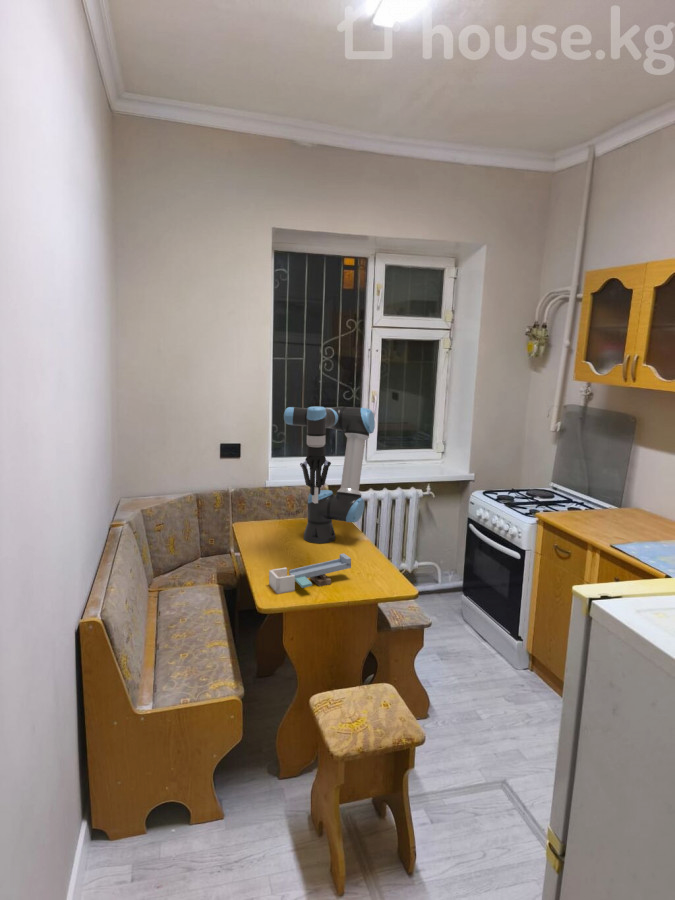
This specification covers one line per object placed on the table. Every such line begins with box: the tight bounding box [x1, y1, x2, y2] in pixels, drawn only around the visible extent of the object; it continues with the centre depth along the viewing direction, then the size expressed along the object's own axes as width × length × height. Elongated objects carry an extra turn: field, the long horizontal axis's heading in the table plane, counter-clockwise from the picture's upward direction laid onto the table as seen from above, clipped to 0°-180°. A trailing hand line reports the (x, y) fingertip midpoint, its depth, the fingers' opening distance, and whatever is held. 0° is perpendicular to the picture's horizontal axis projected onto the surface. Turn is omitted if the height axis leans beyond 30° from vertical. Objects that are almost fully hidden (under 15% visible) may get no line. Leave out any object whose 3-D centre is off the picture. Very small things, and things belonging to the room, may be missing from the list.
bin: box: [268, 567, 296, 595], centre depth 222 cm, size 7×9×6 cm
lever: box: [288, 553, 352, 589], centre depth 225 cm, size 24×13×4 cm, turn 116°
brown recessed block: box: [309, 574, 332, 587], centre depth 229 cm, size 5×9×4 cm, turn 26°
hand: (315, 502), depth 237 cm, fingers closed
